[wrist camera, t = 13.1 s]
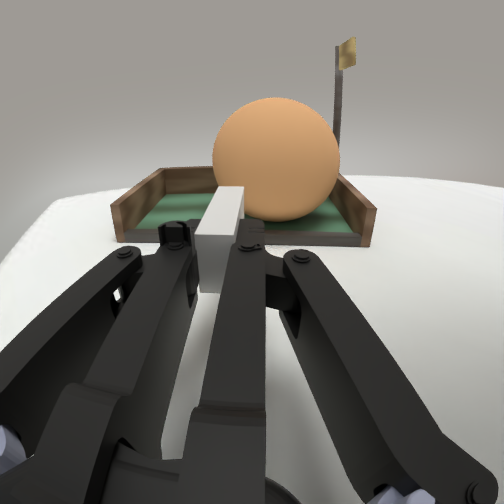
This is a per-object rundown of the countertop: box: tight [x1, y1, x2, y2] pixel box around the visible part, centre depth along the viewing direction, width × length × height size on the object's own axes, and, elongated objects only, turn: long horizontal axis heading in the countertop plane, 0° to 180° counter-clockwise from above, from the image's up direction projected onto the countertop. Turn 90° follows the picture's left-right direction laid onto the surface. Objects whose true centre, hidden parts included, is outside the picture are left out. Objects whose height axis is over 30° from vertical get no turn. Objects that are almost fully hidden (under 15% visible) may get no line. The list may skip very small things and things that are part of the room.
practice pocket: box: [110, 37, 377, 247], centre depth 28 cm, size 16×25×22 cm, turn 89°
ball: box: [213, 98, 340, 222], centre depth 28 cm, size 13×13×13 cm
